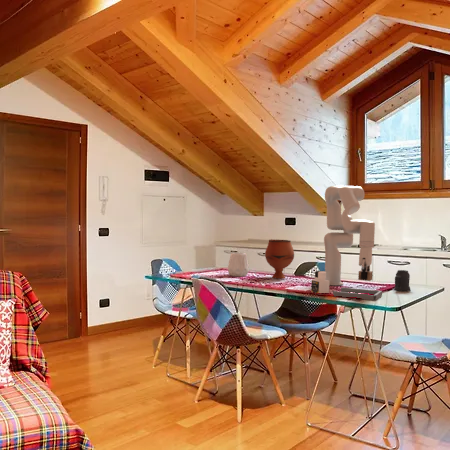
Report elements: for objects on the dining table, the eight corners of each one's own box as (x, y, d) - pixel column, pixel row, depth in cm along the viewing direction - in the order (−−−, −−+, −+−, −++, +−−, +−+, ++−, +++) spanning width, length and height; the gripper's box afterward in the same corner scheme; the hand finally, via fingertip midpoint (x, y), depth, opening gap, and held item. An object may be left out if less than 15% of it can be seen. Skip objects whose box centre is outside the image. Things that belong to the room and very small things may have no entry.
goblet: (291, 280, 317) (292, 241, 316) (261, 278, 322) (262, 240, 321) (295, 276, 335) (296, 239, 334) (267, 275, 340) (267, 238, 339)
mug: (398, 288, 293) (399, 269, 292) (413, 290, 286) (414, 270, 286) (388, 290, 285) (388, 270, 284) (403, 292, 278) (404, 272, 278)
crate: (358, 279, 263) (358, 271, 263) (360, 278, 267) (361, 270, 267) (369, 280, 260) (370, 272, 260) (372, 279, 264) (372, 271, 264)
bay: (333, 296, 263) (333, 291, 263) (341, 291, 278) (341, 287, 278) (375, 300, 253) (375, 295, 253) (382, 295, 267) (382, 291, 267)
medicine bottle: (311, 292, 275) (311, 270, 274) (321, 291, 278) (322, 270, 277) (318, 294, 268) (318, 272, 268) (329, 293, 271) (330, 271, 271)
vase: (249, 274, 342) (249, 252, 342) (248, 277, 328) (248, 254, 328) (229, 273, 344) (229, 251, 343) (226, 276, 330) (227, 253, 329)
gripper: (363, 242, 272) (361, 275, 273) (355, 245, 257) (354, 280, 258) (377, 243, 268) (375, 277, 269) (370, 246, 253) (368, 281, 254)
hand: (365, 278), depth 264 cm, fingers closed on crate, 5 cm apart
